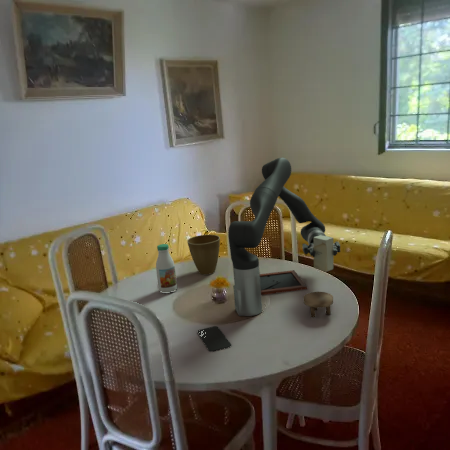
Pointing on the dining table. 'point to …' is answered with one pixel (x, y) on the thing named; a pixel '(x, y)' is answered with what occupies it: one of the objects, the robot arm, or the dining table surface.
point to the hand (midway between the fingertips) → (324, 253)
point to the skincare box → (323, 253)
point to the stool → (318, 301)
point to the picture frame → (281, 282)
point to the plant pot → (204, 252)
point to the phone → (214, 338)
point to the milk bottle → (165, 270)
